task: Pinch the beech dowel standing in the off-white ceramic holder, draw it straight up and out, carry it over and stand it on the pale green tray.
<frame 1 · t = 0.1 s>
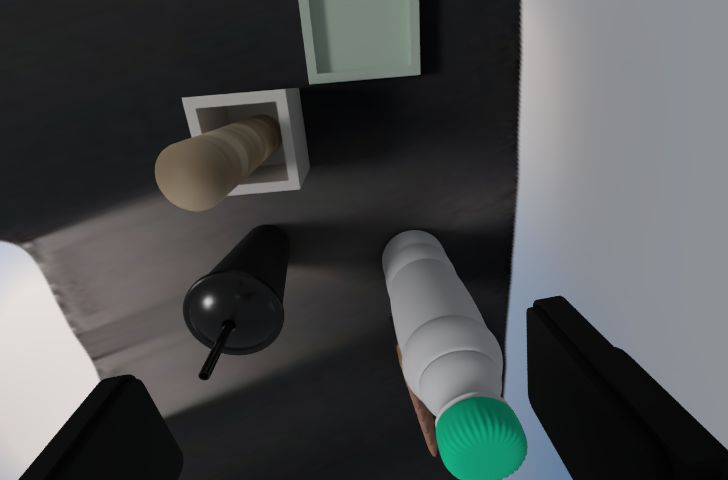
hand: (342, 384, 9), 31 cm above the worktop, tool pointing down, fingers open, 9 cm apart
holder: (266, 132, 36), on the worktop
dowel: (264, 133, 35), point 1 cm above the worktop, touching holder
water bottle: (411, 255, 43), on the worktop
tray: (358, 5, 33), on the worktop
drinking cup: (268, 244, 41), on the worktop
ammunition clip: (406, 346, 48), on the worktop
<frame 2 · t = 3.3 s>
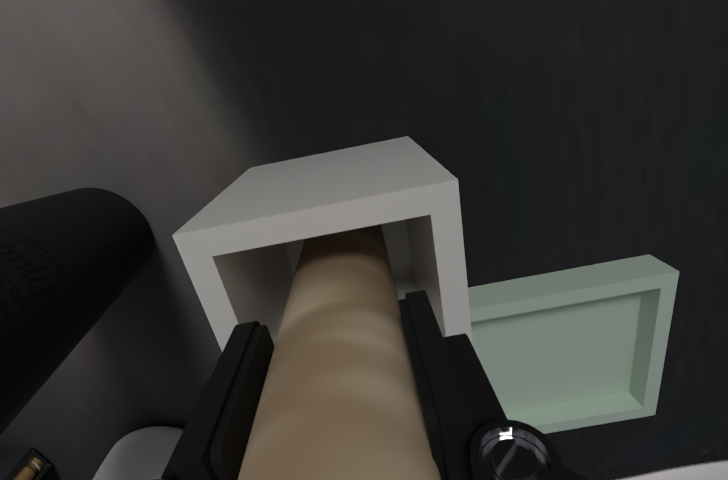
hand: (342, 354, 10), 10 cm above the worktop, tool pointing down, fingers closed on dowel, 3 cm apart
holder: (345, 225, 19), on the worktop
dowel: (344, 233, 18), point 1 cm above the worktop, touching gripper, holder
water bottle: (171, 455, 25), on the worktop
tray: (540, 345, 22), on the worktop
drinking cup: (105, 233, 19), on the worktop
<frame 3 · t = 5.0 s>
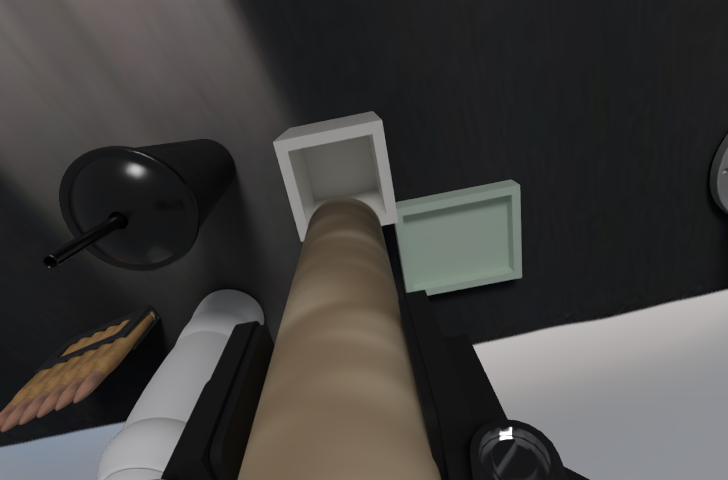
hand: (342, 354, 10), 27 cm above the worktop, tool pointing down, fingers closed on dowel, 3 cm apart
holder: (339, 161, 35), on the worktop
dowel: (344, 232, 18), point 18 cm above the worktop, touching gripper
water bottle: (233, 313, 41), on the worktop
tray: (455, 237, 38), on the worktop
drinking cup: (208, 165, 34), on the worktop
ammunition clip: (115, 327, 41), on the worktop
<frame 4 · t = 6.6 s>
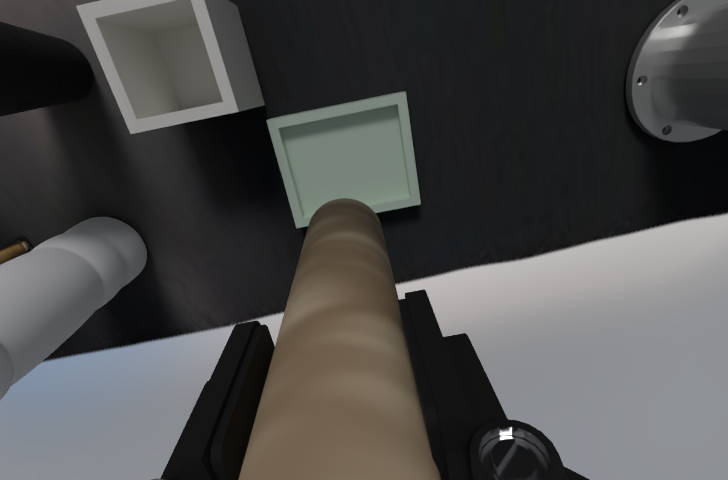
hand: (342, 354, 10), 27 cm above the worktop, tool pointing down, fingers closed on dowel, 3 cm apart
holder: (208, 67, 31), on the worktop
dowel: (345, 233, 18), point 18 cm above the worktop, touching gripper
water bottle: (115, 246, 38), on the worktop
tray: (347, 160, 35), on the worktop
drinking cup: (63, 70, 31), on the worktop
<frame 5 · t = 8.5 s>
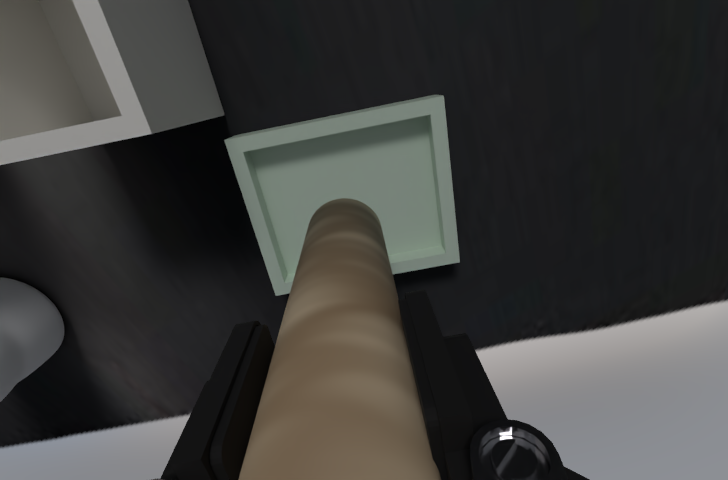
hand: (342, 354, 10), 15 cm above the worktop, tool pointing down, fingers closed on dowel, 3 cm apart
holder: (134, 56, 20), on the worktop
dowel: (345, 234, 18), point 6 cm above the worktop, touching gripper
water bottle: (19, 314, 26), on the worktop
tray: (351, 196, 24), on the worktop
when the fingers open (10 cm above the worktop, at t = 10.2 s): dowel stays where it is, resting on tray.
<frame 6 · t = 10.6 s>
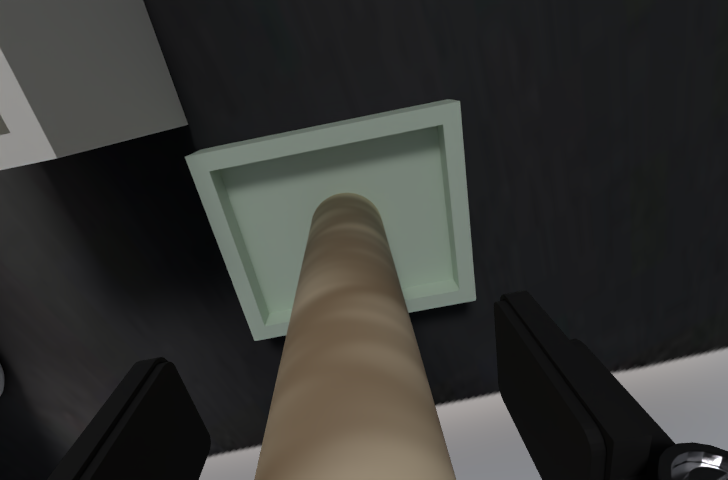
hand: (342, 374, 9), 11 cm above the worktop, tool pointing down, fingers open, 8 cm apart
holder: (70, 52, 16), on the worktop
dowel: (346, 227, 19), point 1 cm above the worktop, touching tray
tray: (344, 221, 20), on the worktop
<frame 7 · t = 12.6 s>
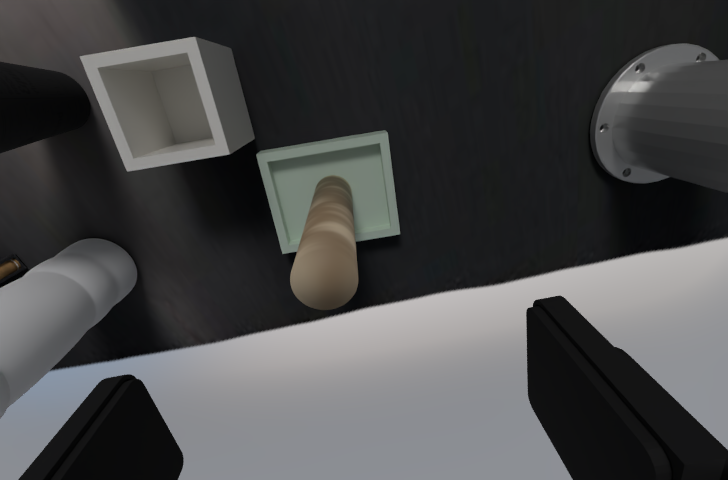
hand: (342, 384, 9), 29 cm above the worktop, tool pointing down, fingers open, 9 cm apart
holder: (201, 102, 33), on the worktop
dowel: (333, 193, 36), point 1 cm above the worktop, touching tray
water bottle: (105, 265, 39), on the worktop
tray: (332, 191, 37), on the worktop
drinking cup: (62, 101, 33), on the worktop
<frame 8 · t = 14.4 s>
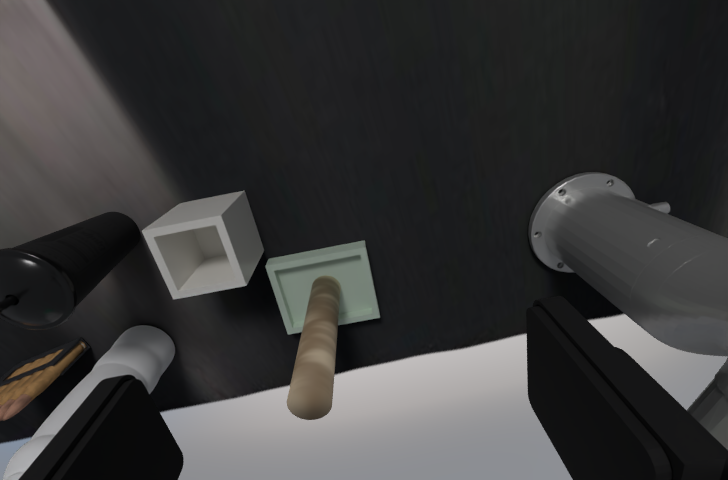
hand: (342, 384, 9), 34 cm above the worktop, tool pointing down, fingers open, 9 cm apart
holder: (223, 227, 43), on the worktop
dowel: (326, 288, 46), point 1 cm above the worktop, touching tray
water bottle: (150, 343, 50), on the worktop
tray: (325, 284, 47), on the worktop
drinking cup: (119, 230, 43), on the worktop
ammunition clip: (54, 354, 50), on the worktop
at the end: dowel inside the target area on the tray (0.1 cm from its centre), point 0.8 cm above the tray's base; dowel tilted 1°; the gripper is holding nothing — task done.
